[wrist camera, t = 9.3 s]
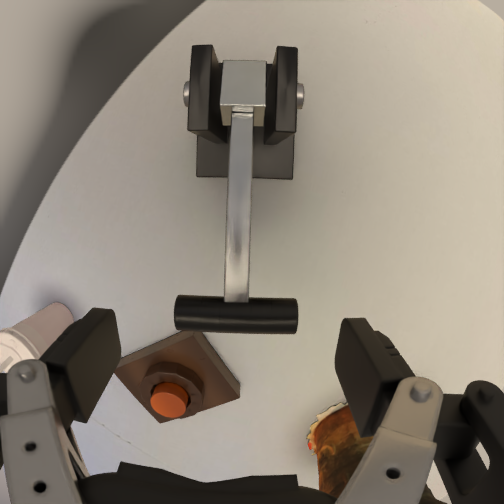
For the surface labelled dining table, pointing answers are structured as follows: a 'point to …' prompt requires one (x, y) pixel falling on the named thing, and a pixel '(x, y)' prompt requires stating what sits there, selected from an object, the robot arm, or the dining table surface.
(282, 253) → the dining table surface
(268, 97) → the switch bracket
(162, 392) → the button
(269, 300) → the switch
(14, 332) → the smoothie
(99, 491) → the robot arm
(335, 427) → the vessel
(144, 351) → the button block
